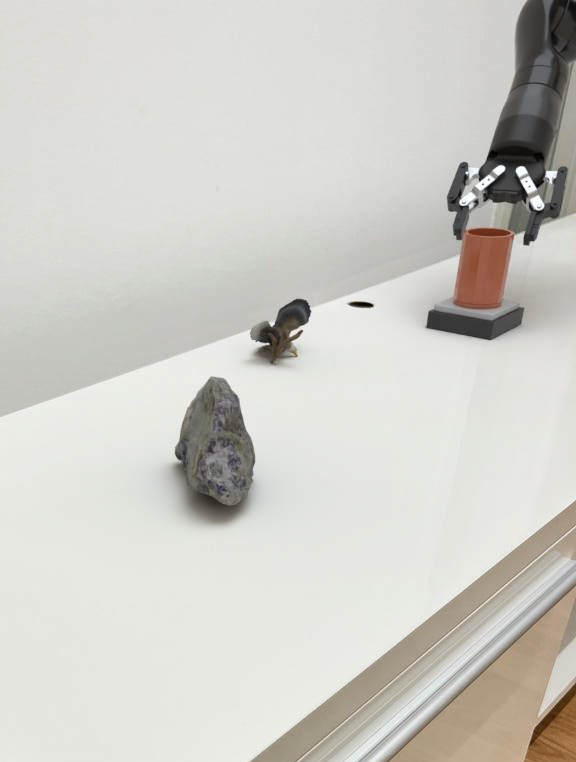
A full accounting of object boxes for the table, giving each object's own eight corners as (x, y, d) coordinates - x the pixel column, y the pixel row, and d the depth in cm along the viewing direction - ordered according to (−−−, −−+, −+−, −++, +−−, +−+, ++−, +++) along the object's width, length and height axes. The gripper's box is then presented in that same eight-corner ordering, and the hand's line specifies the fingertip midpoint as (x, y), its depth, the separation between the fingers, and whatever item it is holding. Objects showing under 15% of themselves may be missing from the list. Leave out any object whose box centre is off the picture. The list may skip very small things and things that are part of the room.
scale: (521, 324, 139) (525, 301, 137) (490, 339, 134) (494, 316, 132) (457, 312, 144) (461, 291, 143) (425, 327, 139) (429, 304, 137)
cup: (509, 302, 137) (522, 231, 133) (488, 312, 134) (501, 239, 129) (466, 294, 141) (477, 225, 136) (444, 304, 137) (455, 233, 133)
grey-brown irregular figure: (319, 357, 125) (324, 323, 132) (290, 309, 122) (296, 277, 128) (265, 385, 130) (272, 351, 136) (235, 340, 126) (244, 307, 133)
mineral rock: (230, 525, 90) (236, 415, 85) (124, 501, 95) (123, 395, 89) (287, 473, 99) (295, 371, 94) (187, 453, 104) (190, 355, 99)
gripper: (469, 110, 136) (435, 218, 134) (584, 113, 130) (550, 225, 128) (470, 149, 143) (438, 252, 141) (580, 153, 137) (548, 260, 135)
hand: (492, 239), depth 134 cm, fingers open, 8 cm apart
